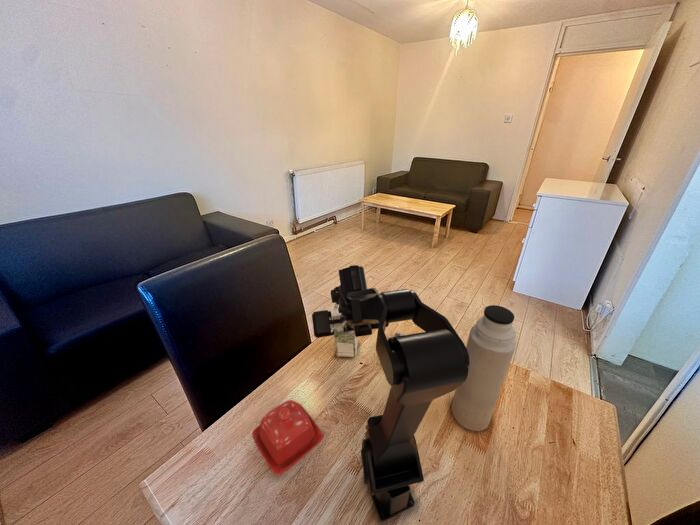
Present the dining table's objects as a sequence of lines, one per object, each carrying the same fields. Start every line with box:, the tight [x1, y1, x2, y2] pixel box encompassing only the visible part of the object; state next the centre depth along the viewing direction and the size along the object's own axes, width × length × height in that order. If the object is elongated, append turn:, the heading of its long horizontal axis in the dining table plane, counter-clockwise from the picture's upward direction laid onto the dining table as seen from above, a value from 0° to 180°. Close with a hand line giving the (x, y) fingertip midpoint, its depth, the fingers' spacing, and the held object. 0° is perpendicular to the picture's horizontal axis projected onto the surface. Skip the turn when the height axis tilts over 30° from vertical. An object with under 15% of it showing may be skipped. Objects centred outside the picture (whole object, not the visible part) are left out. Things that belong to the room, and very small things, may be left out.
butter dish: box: [251, 399, 325, 477], centre depth 57 cm, size 12×12×8 cm
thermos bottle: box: [451, 304, 517, 432], centre depth 57 cm, size 8×8×28 cm
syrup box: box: [331, 303, 358, 358], centre depth 78 cm, size 6×6×14 cm
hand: (345, 323), depth 78 cm, fingers closed on syrup box, 7 cm apart
